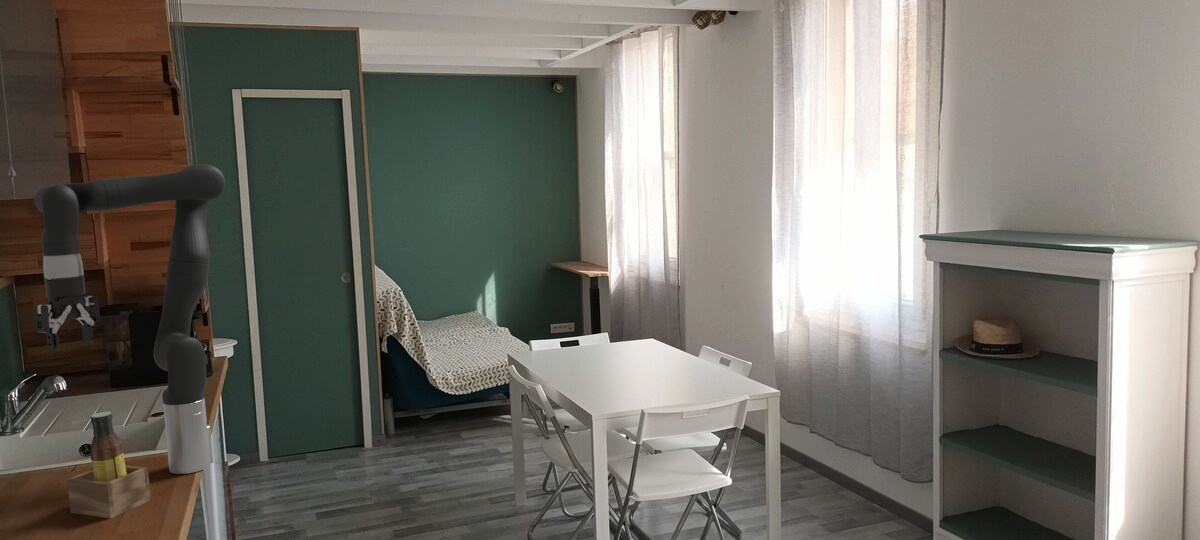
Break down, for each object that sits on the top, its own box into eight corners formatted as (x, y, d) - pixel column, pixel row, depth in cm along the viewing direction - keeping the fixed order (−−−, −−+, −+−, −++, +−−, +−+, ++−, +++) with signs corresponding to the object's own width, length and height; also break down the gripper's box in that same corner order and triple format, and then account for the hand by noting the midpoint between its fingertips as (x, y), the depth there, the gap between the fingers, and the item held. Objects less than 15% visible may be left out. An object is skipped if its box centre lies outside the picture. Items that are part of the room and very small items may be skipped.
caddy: (112, 495, 199) (108, 463, 198) (151, 500, 195) (147, 467, 194) (70, 512, 189) (66, 479, 188) (110, 518, 185) (107, 484, 184)
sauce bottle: (123, 493, 197) (113, 407, 194) (134, 499, 193) (125, 411, 190) (91, 502, 192) (81, 414, 189) (102, 509, 188) (92, 419, 185)
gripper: (79, 270, 202) (86, 339, 204) (21, 278, 189) (29, 352, 191) (104, 270, 200) (111, 340, 202) (47, 279, 186) (55, 353, 188)
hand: (71, 346), depth 196 cm, fingers open, 8 cm apart
